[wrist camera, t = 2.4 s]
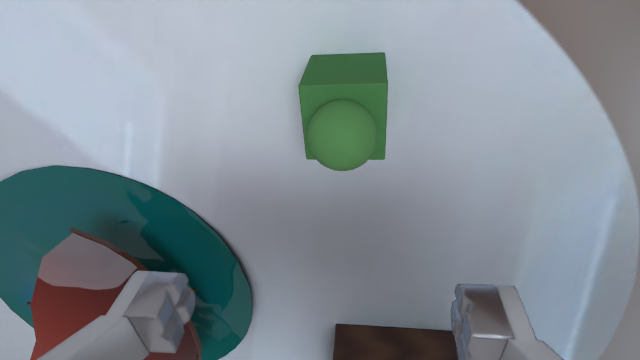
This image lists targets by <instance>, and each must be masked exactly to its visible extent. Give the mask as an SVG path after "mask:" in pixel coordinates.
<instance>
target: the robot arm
mask: <svg viewBox="0 0 640 360" xmlns="http://www.w3.org/2000/svg"><path fill="white" fill-rule="evenodd" d="M188 281H189V280H188V278H187V276H186V274H185V273H171V272H156V271H136V272H135V273H134V274H132V276H131V277H130V279H129V280H128V282H127V283H126V285H125V286H124V288H123V290H122V291H121V293H120V294H119V296H118V297H117V299H116V300H115V302H114V303H113V305H112V306H111V308H110V309H109V311H108V312H107V314H106V315H101V316H99V317H98V318H96V319H95V320H93V321H92V322H91V323H89V324H88V325H86V326H85V327H83V328H82V329H80V330H79V331H78V332H76V333H75V334H73V335H72V336H70V337H69V338H67V339H66V340H64V341H63V342H62V343H60V344H59V345H57V346H56V347H54V348H53V349H51V350H50V351H49V352H47V353H46V354H44V355H43V356H41V357H40V358H38V359H37V360H143V359H145V358H146V357H147V356H148V355H149V352H157V353H176V351H177V349H178V347H179V344H180V342H181V340H182V338H183V335H184V329H183V325H185V324H186V323H187V322H188V321H189V320H190V319H191V317H192V315H193V312H194V308H195V294H194V292H193V290H192V289H191V288H190V287H188V286H187V283H188ZM454 293H455V297H456V300H454V301H453V302H452V306H451V326H452V331H453V335H454V336H455V337H456V339H457V340H458V344H457V348H456V352H457V357H458V360H564V359H563V358H562V357H560V356H559V355H558V354H557V353H556V352H555V351H554V350H553V349H552V348H550V347H549V346H548V345H547V344H546V343H545V342H544V341H538V340H537V338H536V336H535V333H534V331H533V328H532V326H531V323H530V321H529V318H528V316H527V313H526V311H525V308H524V306H523V303H522V301H521V298H520V296H519V293H518V291H517V289H516V288H515V287H514V286H502V285H484V284H457V285H456V287H455V291H454Z"/></svg>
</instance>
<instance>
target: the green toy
mask: <svg viewBox="0 0 640 360" xmlns="http://www.w3.org/2000/svg"><path fill="white" fill-rule="evenodd" d="M387 92H388V81H387V70H386V59H385V53H360V54H332V55H312V56H311V58H310V60H309V63H308V65H307V67H306V70H305V72H304V74H303V77H302V79H301V82H300V84H299V95H300V104H301V114H302V123H303V132H304V141H305V150H306V158H307V159H316V160H317V161H318V162H319V163H321V164H322V165H323V166H325V167H327V168H330V169H333V170H337V171H347V170H352V169H355V168H358V167H359V166H361V165H363V164H364V163H365V162H366V161H367V160H384V159H385V146H386V119H387Z"/></svg>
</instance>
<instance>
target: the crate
mask: <svg viewBox="0 0 640 360" xmlns="http://www.w3.org/2000/svg"><path fill="white" fill-rule="evenodd" d="M456 348H457V346H456V341H455V336H454V335H453V331H440V330H424V329H407V328H391V327H375V326H358V325H342V324H336V330H335V341H334V352H333V360H458V357H457V352H456Z"/></svg>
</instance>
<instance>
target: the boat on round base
mask: <svg viewBox="0 0 640 360" xmlns="http://www.w3.org/2000/svg"><path fill="white" fill-rule="evenodd" d="M136 271H156V272H171V273H185V274H186V276H187V278H188V280H189V281H188V283H187V286H188V287H190V288H191V289H192V290H193V292H194V294H195V308H194V312H193V315H192V317H191V319H190V320H189V321H188V322H187V323H186V324H185V325H183V329H184V335H183V338H182V340H181V342H180V344H179V347H178V349H177V351H176V353H157V352H149V355H148V356H147V357H146V358H145V359H143V360H218V359H220V358H222V357H224V356H225V355H227V354H228V353H229V352H231V351H232V350H233V349H235V348H236V347H237V345H238V344H239V343H240V342H241V341H242V340H243V338H244V337H245V335H246V333H247V331H248V328H249V325H250V322H251V315H252V303H251V292H250V287H249V285H248V283H247V280H246V278H245V276H244V274H243V271H242V269H241V267H240V265H239V263H238V261H237V260H236V258H235V257H234V256H233V254H232V253H231V252H230V250H229V249H228V247H227V246H226V245H225V243H224V242H223V240H222V239H221V238H220V236H219V235H218V234H217V233H216V232H215V231H213V230H212V229H211V228H210V227H209V226H208V225H207V224H206V223H205V222H204V221H203V220H202V219H201V218H199V217H198V216H197V215H196V214H195V213H194V212H193V211H191V210H190V209H188V208H187V207H185V206H184V205H182V204H181V203H179V202H178V201H176V200H174V199H173V198H171V197H169V196H167V195H165V194H163V193H161V192H159V191H157V190H155V189H153V188H151V187H148V186H146V185H143V184H141V183H138V182H136V181H133V180H130V179H127V178H124V177H121V176H117V175H114V174H111V173H106V172H102V171H98V170H93V169H88V168H76V167H64V166H50V167H44V168H39V169H34V170H28V171H23V172H19V173H17V174H15V175H13V176H11V177H9V178H7V179H5V180H3V181H1V182H0V298H1V299H2V300H3V301H4V302H5V303H6V304H7V305H8V306H9V308H10V309H11V310H12V311H13V312H15V313H16V314H17V315H18V316H19V317H21V318H22V319H23V320H24V321H26V322H27V323H28V324H29V325H30V326H32V327H33V328H34V330H35V336H36V343H35V346H34V349H33V353H32V356H31V359H30V360H37V359H38V358H40V357H41V356H43V355H44V354H46V353H47V352H49V351H50V350H51V349H53V348H54V347H56V346H57V345H59V344H60V343H62V342H63V341H64V340H66V339H67V338H69V337H70V336H72V335H73V334H75V333H76V332H78V331H79V330H80V329H82V328H83V327H85V326H86V325H88V324H89V323H91V322H92V321H93V320H95V319H96V318H98V317H99V316H101V315H106V314H107V312H108V311H109V309H110V308H111V306H112V305H113V303H114V302H115V300H116V299H117V297H118V296H119V294H120V293H121V291H122V290H123V288H124V286H125V285H126V283H127V282H128V280H129V279H130V277H131V276H132V274H134V273H135V272H136Z"/></svg>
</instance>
